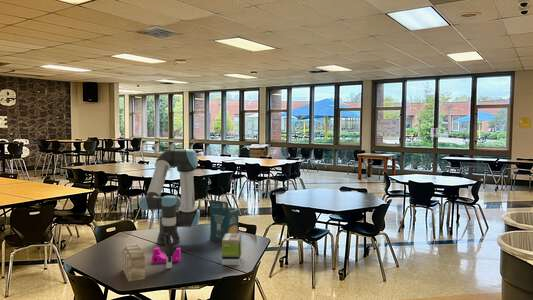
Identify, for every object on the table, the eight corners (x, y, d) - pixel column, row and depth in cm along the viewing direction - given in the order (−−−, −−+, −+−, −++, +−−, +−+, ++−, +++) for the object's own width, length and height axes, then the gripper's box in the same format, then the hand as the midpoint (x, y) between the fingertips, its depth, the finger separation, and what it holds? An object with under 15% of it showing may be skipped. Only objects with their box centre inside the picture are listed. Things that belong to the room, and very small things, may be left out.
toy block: (152, 263, 229) (151, 250, 228) (155, 259, 235) (155, 247, 235) (178, 263, 228) (178, 250, 228) (180, 260, 235) (180, 247, 234)
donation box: (209, 239, 278) (209, 199, 277) (225, 234, 291) (225, 196, 290) (227, 243, 269) (227, 202, 268) (242, 238, 282) (242, 198, 281)
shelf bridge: (122, 270, 217) (122, 245, 216) (138, 267, 221) (137, 243, 220) (128, 281, 200) (128, 255, 200) (144, 279, 204) (144, 252, 204)
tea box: (225, 257, 241) (225, 232, 240) (241, 257, 241) (241, 232, 240) (221, 265, 226) (221, 239, 225) (239, 265, 226) (239, 239, 225)
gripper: (159, 222, 222) (159, 264, 223) (165, 227, 210) (165, 272, 212) (172, 221, 225) (172, 262, 227) (179, 226, 214) (179, 270, 215)
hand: (169, 267), depth 219 cm, fingers closed
